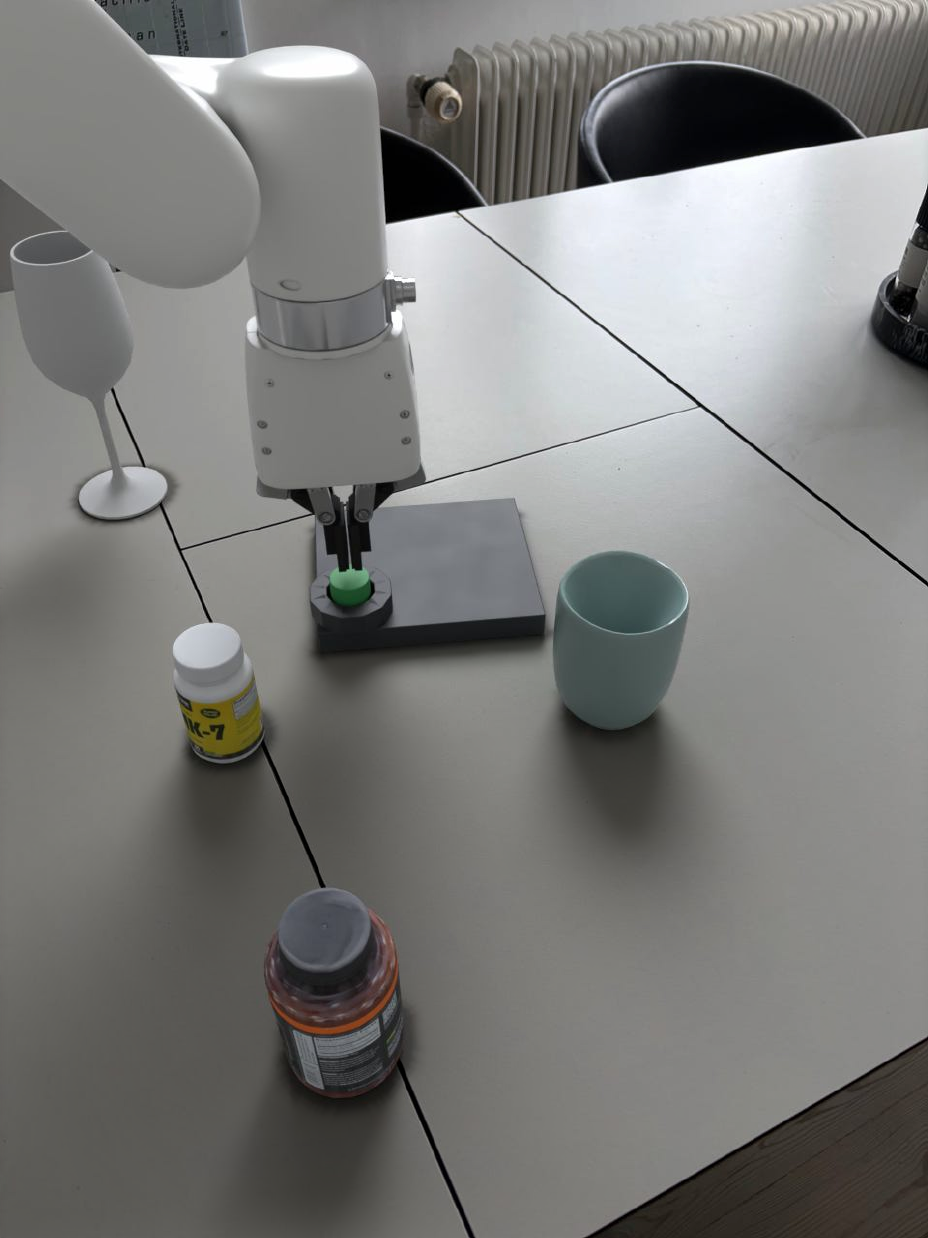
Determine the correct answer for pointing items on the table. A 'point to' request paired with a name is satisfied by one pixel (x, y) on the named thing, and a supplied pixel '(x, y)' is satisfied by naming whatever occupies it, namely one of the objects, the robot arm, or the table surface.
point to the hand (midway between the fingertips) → (350, 557)
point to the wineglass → (82, 351)
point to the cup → (617, 637)
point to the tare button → (350, 586)
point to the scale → (434, 579)
